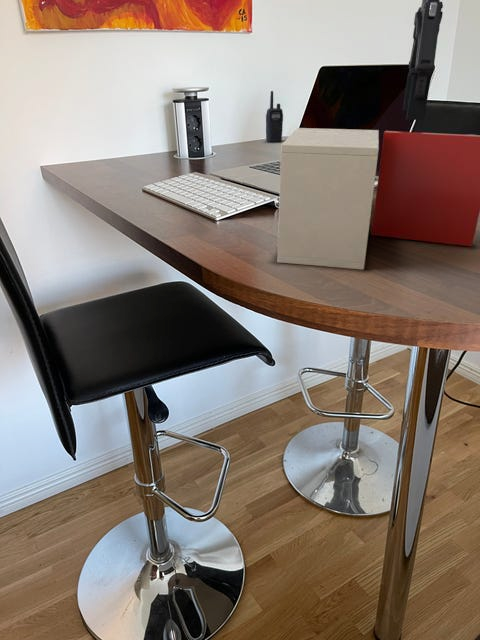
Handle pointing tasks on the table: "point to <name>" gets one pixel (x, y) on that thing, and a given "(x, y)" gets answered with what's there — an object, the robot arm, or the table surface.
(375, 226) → the cupboard door
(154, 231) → the table surface
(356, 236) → the cupboard
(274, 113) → the two-way radio
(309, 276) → the table surface
